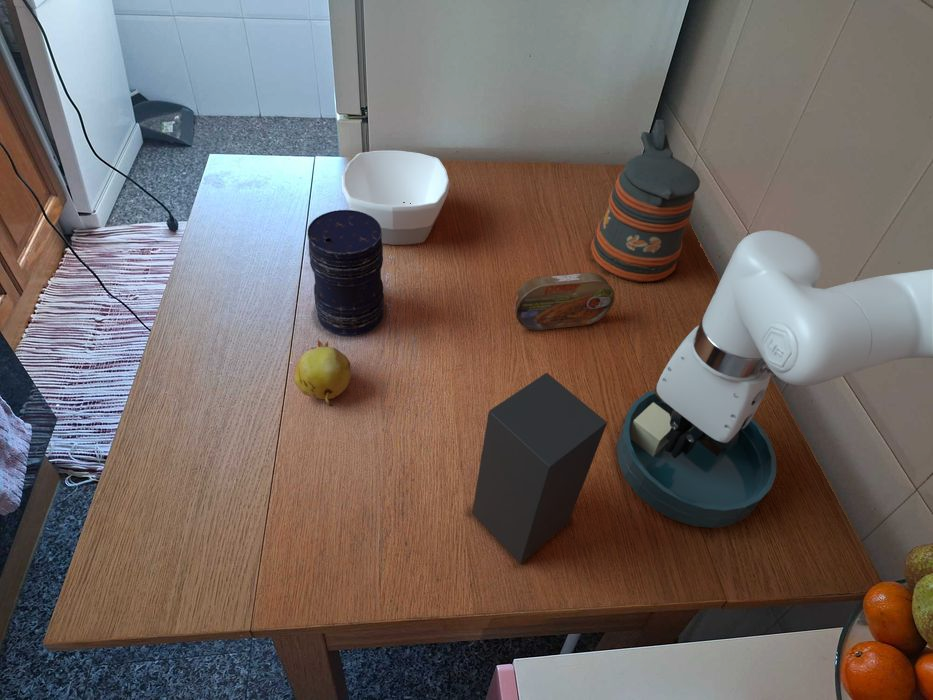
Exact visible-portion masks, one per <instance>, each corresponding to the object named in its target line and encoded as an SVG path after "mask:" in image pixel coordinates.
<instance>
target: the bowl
mask: <svg viewBox="0 0 933 700" xmlns="http://www.w3.org/2000/svg"><path fill="white" fill-rule="evenodd" d="M340 178H341V192H342V193H343V195H344V198H345V200H346V202H347V204H348V206H349V208H350V209H349V210H354V211H359V212H363V213H366V214H368V215H370V216H372V217H373V218H375V219H376V220H377V221H378V223H379V224H380V226H381V230H382V237H381V238H382V244H384V245H385V244H386V245H392V246H398V245H399V246H401V245H414V244H422V243H424V242H426V241H427V238H428V237H429V235H430V233H431V231H432V229H433V226H434V225H435V222H436V220H437V218H438V217H439V214H440V212H441V210H442V207H443V205H444V203H445V201H446V199H447V197H448V193H449V190H450V187H451V182H450V178H449V175H448V171H447V169H446V167H445V166H444V164H443V163H442V161H441V160H440V158H439V157H435V156H432V155H427V154H424V153H421V152H414V151H408V150H407V151H406V150H405V151H404V150H371V151H365V152H359V153H357V154H356V155H355V156H354V157H353V158H352V159H351V160H350V161H349V162H348V163H347V165H346V166H345V169H344V170H343V172H342V175H341V177H340ZM403 202H405V203H403ZM410 203H411V204H410Z"/></svg>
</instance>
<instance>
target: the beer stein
mask: <svg viewBox="0 0 933 700" xmlns="http://www.w3.org/2000/svg"><path fill="white" fill-rule="evenodd" d="M640 140H641V142H642V145H643V149H644V152H643V153H642V154H639V155H636V156H634V157H631V158H630V159H629V160H628V161H627V163H626V164H625V165H624V167H623V170H622V171H620V173H618V175H617V177H616V181H615V184H614V186H613V188H612V190H611V192H610V196H609V198H608V207H607V209H606V211H605V215H604V216H602V218H601V220H600V221H599V223H598V225H597V229H596V232H595V234H594V236H593V238H592V240H591V245H590V250H591V254H592V257H593V259H594V261H596V263H597V264H598V265H599V266H600V267H601V268H602V269H604V270H605V271H607V272H608V273H610V274H612V275H613V276H615V277H618V278H621V279H622V280H626V281H631V282H635V283H650V282H657V281H660V280H661V281H662V280H663V279H666V278H667V277H668V276H670V275H671V274H673V273H674V272H675V271H676V267H677V264H678V260H679V258H680V255H681V251H682V249H683V236H684V232H685V228H686V225H687V224H688V223H689V221H690V219H691V214H692V210H693V205H694V201H695V199H696V198H695V197H696V192H697V191H698V190H699V188H700V185H701V181H700V180H701V179H700V177H699V175H698V174H697V172H695V170H694V169H692V168H691V167H690V166H689V165H687V164H686V163H684V162H683V161H681V160H679V159H677V158H675V157H674V155H673V154H674V153H673V151H672V149H671V147H670V143H669V139H668V134H667V133H666V126H665V120H664V119H656V120H655V122H654V126H653V128H652V131H651V132H646V131H643V132H642V133H641V136H640Z"/></svg>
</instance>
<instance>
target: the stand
mask: <svg viewBox="0 0 933 700" xmlns="http://www.w3.org/2000/svg"><path fill="white" fill-rule="evenodd" d="M485 425H486V426H485V432H484V438H483V444H482V449H481V456H480V462H479V469H478V474H477V480H476V487H475V494H474V500H473V506H472V511H471V514H472V515H473V517H475V519H476V520H478V522H480V523H481V525H482V526H483V527H484V528H485V529H486V530H487V531H488V532H489V533H490V534H491V535H492V536H493V538H494V539H496V540H497V541H498V542H499V544H500V545H501V546H502V547H503V548H504V549H505V550H506V551H507V552H508V553H509V554H510V555H511V556H512V557H513V558H514V559H515V561H517V563H518V564H520V565H522V563H524V562H525V561H526V560H527V559H529V558H530V557H531V556H532V555H534V553H535V552H537V551H538V550H539V549H540V548H541V547H543V546H544V545H545V544H546V543H548V542H549V541H550V540H551V539H553V537H554V536H555V535H557V534H558V533H559V532H560V531H561V530H562V529H564V528H565V527H566V526H567V525H568V524H569V523H570V522H571V518H572V516H573V513H574V511H575V508H576V506H577V504H578V500H579V498H580V495H581V492H582V490H583V487H584V485H585V482H586V480H587V477H588V474H589V471H590V470H591V466H592V463H593V461H594V458H595V456H596V453H597V450H598V448H599V446H600V443H601V440H602V438H603V436H604V433H605V430H606V427H607V425H608V421H606V420H605V419H604V418H603V417H601V416H600V414H598V413H597V412H595V411H594V410H593V409H592V408H591V407H589V406H588V405H587V404H586V403H584V402H583V401H582V400H581V399H580V398H578V397H577V396H576V395H575V394H573V393H572V392H571V391H570V390H569V389H567V388H566V387H565V386H563V385H562V384H561V383H560V382H559V381H558V380H557V379H555V378H554V377H553V376H552V375H550V374H549V373H548V372H545V373H544V374H542V375H540V376H539V377H538V378H536V379H534V380H533V381H531V382H530V383H528V384H527V385H526V386H524V387H522V388H521V389H519V390H518V391H516V392H514V393H513V394H512V395H510V396H509V397H507V398H506V399H505V400H503V401H501V402H500V403H499V404H497V405H495V406H494V407H493V408H491V409H490V410H488V413H487V420H486V424H485Z"/></svg>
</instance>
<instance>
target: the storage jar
mask: <svg viewBox="0 0 933 700" xmlns="http://www.w3.org/2000/svg"><path fill="white" fill-rule="evenodd" d="M381 237H382V230H381V226H380V224H379V223H378V221H377V220H376V219H375V218H373V217H372V216H370V215H368V214H366V213H363V212H359V211H354V210H351V209H337V210H332V211H328V212H325V213H323V214H321V215H319V216H317V217H315V218H314V219H313V220H312V221H311V222H310V223H309V225H308V227H307V240H308V256H309V264H310V268H311V271H312V272H313V275H314V276H313V277H314V285H313V297H314V305H315V308H316V311H317V320H318V323H319V325H320V326H321V327H322V328H323V329H324V330H325V331H327V332H329V333H331V334H333V335H335V336H339V337H345V338H346V337H347V338H351V337H353V338H354V337H359V336H363V335H366V334H369V333H370V332H372V331H374V330H375V329H377V328H378V326H380V324H381V323H382V321H383V319H384V304H385V293H384V283H383V280H382V268H383V263H384V254H383V253H384V245H383V243H382V238H381Z"/></svg>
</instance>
